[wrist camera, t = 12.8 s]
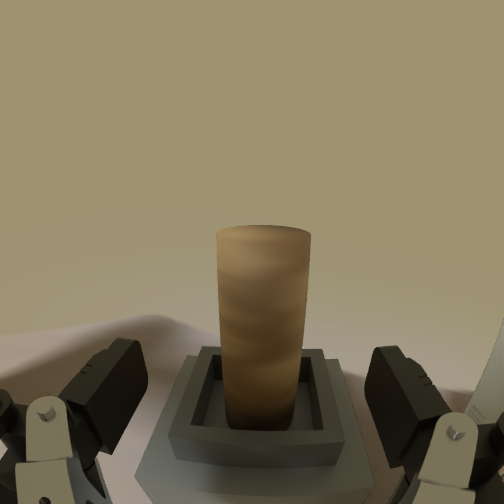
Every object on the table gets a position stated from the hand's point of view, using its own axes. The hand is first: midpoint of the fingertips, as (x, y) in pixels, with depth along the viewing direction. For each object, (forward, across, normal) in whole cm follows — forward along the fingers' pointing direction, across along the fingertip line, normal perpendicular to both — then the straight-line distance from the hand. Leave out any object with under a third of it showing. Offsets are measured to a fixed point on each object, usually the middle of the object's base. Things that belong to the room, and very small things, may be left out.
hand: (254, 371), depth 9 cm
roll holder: (+6, 0, +14) cm, 15 cm away
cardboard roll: (+6, 0, +8) cm, 10 cm away
